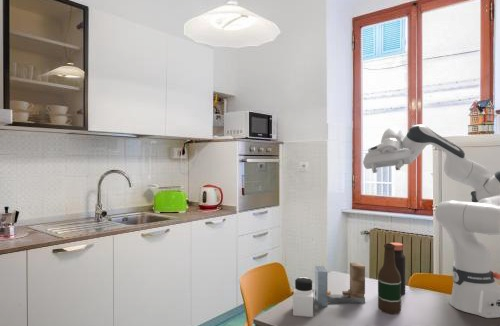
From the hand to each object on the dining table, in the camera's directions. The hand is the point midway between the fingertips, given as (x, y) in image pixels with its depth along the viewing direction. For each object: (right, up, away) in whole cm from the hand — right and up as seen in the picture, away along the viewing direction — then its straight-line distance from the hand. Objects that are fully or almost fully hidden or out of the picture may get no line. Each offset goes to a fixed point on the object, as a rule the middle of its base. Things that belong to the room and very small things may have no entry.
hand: (385, 170), depth 142 cm
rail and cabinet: (-23, -50, -13) cm, 57 cm away
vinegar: (+4, -51, -2) cm, 51 cm away
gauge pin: (-29, -48, -11) cm, 57 cm away
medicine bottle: (-38, -51, -21) cm, 67 cm away
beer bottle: (-6, -51, -19) cm, 55 cm away
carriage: (-17, -48, -12) cm, 53 cm away
